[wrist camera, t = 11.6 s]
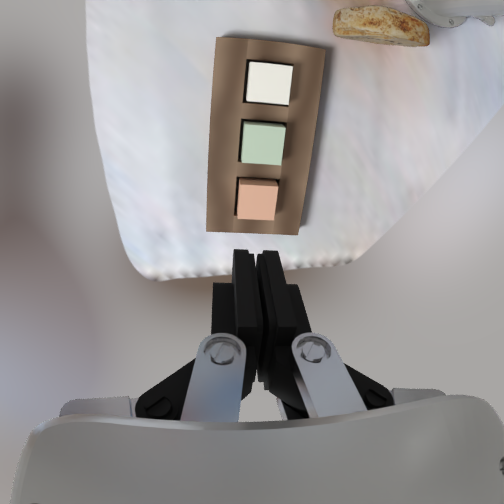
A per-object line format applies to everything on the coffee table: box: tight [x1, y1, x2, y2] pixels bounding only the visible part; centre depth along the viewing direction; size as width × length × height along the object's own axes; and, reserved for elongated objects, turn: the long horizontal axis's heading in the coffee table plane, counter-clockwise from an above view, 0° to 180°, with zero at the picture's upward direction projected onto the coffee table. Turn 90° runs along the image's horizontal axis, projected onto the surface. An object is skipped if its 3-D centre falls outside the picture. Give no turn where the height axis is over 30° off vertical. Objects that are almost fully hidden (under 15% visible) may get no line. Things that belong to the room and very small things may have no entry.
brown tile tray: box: [206, 37, 326, 235], centre depth 34 cm, size 12×24×2 cm, turn 175°
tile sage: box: [241, 121, 286, 165], centre depth 33 cm, size 4×4×2 cm
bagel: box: [333, 6, 430, 47], centre depth 24 cm, size 10×4×10 cm, turn 91°
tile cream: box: [246, 62, 293, 105], centre depth 30 cm, size 4×4×2 cm
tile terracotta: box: [237, 177, 278, 220], centre depth 37 cm, size 4×4×2 cm
